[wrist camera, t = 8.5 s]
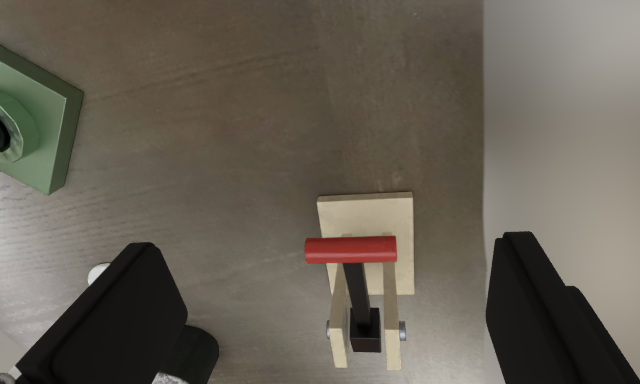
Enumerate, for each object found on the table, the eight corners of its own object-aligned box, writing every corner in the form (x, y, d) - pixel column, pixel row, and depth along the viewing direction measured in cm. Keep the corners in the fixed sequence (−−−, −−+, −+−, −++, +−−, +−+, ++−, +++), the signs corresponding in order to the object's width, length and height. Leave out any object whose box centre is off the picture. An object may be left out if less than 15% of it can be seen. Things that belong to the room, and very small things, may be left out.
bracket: (318, 196, 35) (292, 289, 24) (411, 191, 34) (429, 288, 23) (332, 287, 41) (316, 396, 30) (413, 286, 39) (428, 402, 28)
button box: (-23, 32, 32) (-72, 36, 28) (84, 92, 33) (50, 104, 30) (-27, 138, 38) (-68, 153, 34) (64, 186, 39) (33, 205, 36)
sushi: (158, 319, 48) (122, 374, 41) (218, 331, 47) (192, 388, 41) (165, 357, 52) (133, 413, 45) (220, 368, 51) (196, 426, 45)
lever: (307, 226, 21) (302, 262, 19) (395, 223, 20) (397, 260, 18) (337, 322, 30) (335, 351, 28) (398, 322, 29) (399, 353, 27)
